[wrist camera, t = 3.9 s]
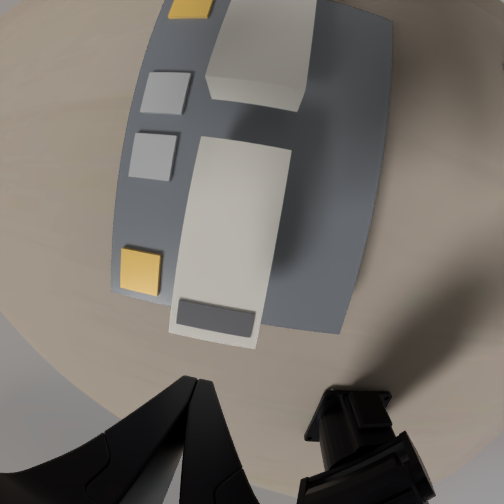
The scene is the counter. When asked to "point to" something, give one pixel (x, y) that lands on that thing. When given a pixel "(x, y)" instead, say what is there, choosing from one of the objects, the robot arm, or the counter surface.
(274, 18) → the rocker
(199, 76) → the switch unit
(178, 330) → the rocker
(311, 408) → the counter surface
